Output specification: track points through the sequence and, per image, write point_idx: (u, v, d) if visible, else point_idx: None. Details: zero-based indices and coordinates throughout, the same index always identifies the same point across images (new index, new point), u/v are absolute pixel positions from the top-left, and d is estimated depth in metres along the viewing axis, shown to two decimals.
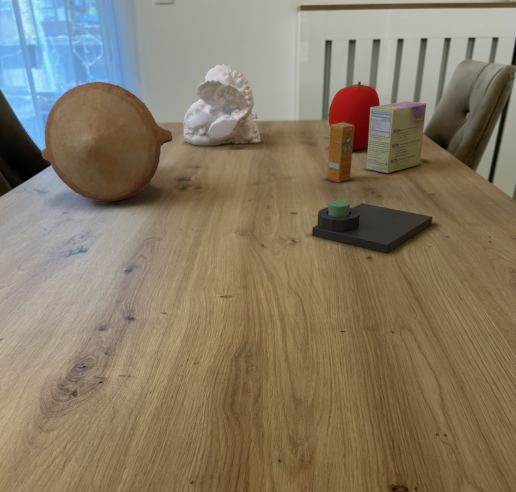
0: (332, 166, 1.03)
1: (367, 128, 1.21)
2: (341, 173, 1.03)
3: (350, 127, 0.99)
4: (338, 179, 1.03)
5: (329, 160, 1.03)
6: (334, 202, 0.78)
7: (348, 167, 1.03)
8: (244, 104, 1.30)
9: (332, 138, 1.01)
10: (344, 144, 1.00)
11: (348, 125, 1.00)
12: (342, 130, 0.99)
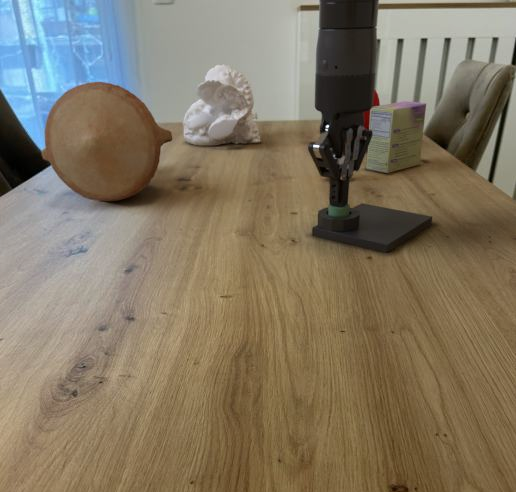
0: None
1: (367, 128, 1.21)
2: None
3: None
4: None
5: None
6: None
7: None
8: (244, 104, 1.30)
9: None
10: None
11: None
12: None
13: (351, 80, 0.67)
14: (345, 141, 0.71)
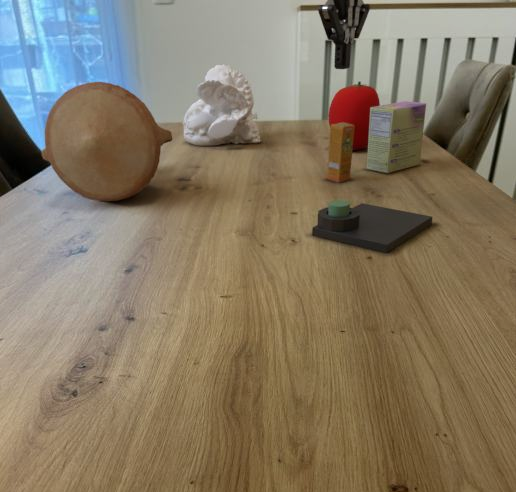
0: (332, 166, 1.03)
1: (367, 128, 1.21)
2: (341, 173, 1.03)
3: (350, 127, 0.99)
4: (338, 179, 1.03)
5: (329, 160, 1.03)
6: (334, 202, 0.78)
7: (348, 167, 1.03)
8: (244, 104, 1.30)
9: (332, 138, 1.01)
10: (344, 144, 1.00)
11: (348, 125, 1.00)
12: (342, 130, 0.99)
13: None
14: (348, 6, 0.88)
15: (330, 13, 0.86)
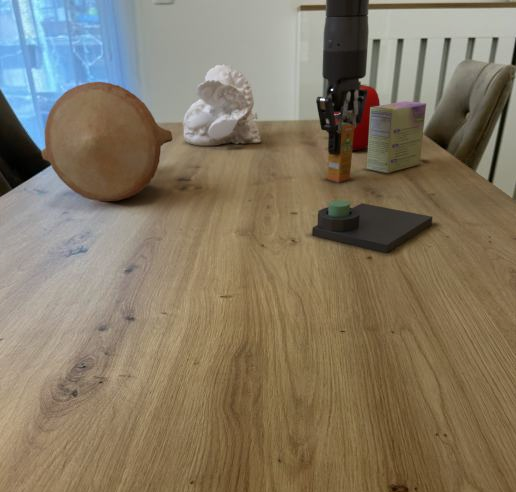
0: (332, 166, 1.03)
1: (367, 128, 1.21)
2: (341, 173, 1.03)
3: (350, 127, 0.99)
4: (338, 179, 1.03)
5: (329, 160, 1.03)
6: (334, 202, 0.78)
7: (348, 167, 1.03)
8: (244, 104, 1.30)
9: None
10: (344, 144, 1.00)
11: (348, 125, 0.99)
12: (342, 130, 0.99)
13: (349, 54, 0.91)
14: (344, 100, 0.96)
15: (326, 104, 0.93)
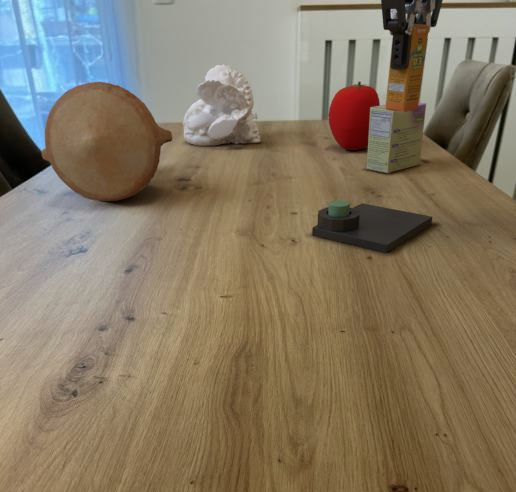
0: (394, 88, 0.72)
1: (367, 128, 1.21)
2: (407, 99, 0.72)
3: (423, 28, 0.68)
4: (403, 108, 0.72)
5: (390, 80, 0.72)
6: (334, 202, 0.78)
7: (417, 90, 0.72)
8: (244, 104, 1.30)
9: None
10: (414, 53, 0.69)
11: (420, 25, 0.68)
12: (412, 31, 0.67)
13: None
14: None
15: None
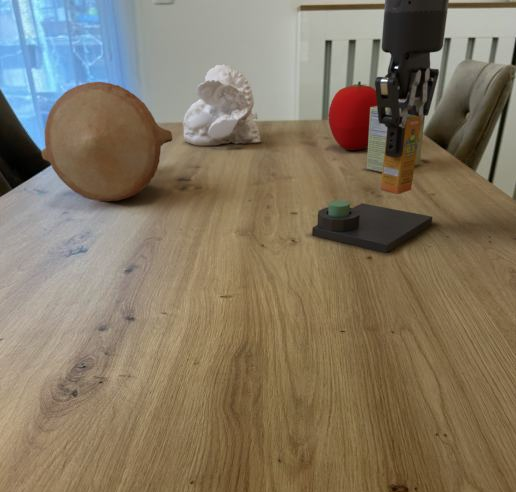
0: (388, 172, 0.77)
1: (367, 128, 1.21)
2: (401, 183, 0.76)
3: (416, 120, 0.73)
4: (397, 190, 0.77)
5: (384, 165, 0.77)
6: (334, 202, 0.78)
7: (410, 174, 0.77)
8: (244, 104, 1.30)
9: None
10: (407, 142, 0.74)
11: (413, 117, 0.73)
12: (406, 124, 0.72)
13: (425, 16, 0.64)
14: (413, 82, 0.69)
15: (390, 87, 0.67)
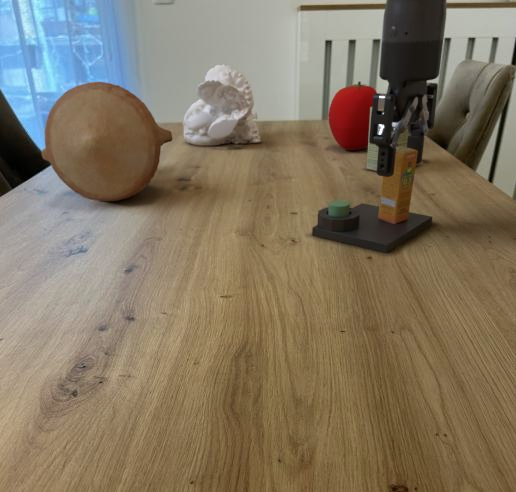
0: (386, 202, 0.79)
1: (367, 128, 1.21)
2: (398, 213, 0.79)
3: (412, 153, 0.75)
4: (394, 220, 0.79)
5: (382, 195, 0.79)
6: (334, 202, 0.78)
7: (407, 204, 0.79)
8: (244, 104, 1.30)
9: None
10: (404, 175, 0.76)
11: (410, 150, 0.75)
12: (403, 157, 0.74)
13: (421, 46, 0.66)
14: (409, 106, 0.70)
15: (388, 101, 0.67)
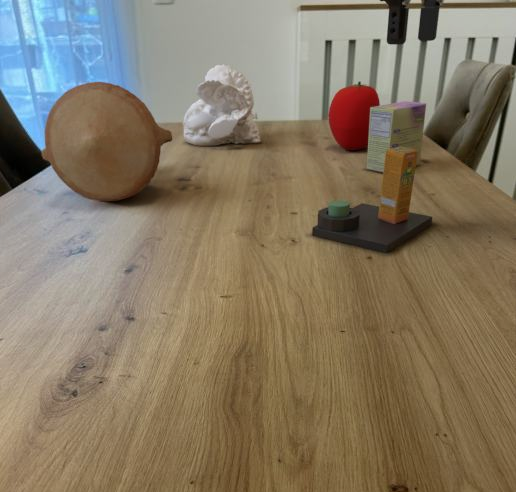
0: (386, 202, 0.79)
1: (367, 128, 1.21)
2: (398, 213, 0.79)
3: (412, 153, 0.75)
4: (394, 220, 0.79)
5: (382, 195, 0.79)
6: (334, 202, 0.78)
7: (407, 204, 0.79)
8: (244, 104, 1.30)
9: (387, 168, 0.77)
10: (404, 175, 0.76)
11: (410, 150, 0.75)
12: (403, 157, 0.74)
13: None
14: None
15: None
